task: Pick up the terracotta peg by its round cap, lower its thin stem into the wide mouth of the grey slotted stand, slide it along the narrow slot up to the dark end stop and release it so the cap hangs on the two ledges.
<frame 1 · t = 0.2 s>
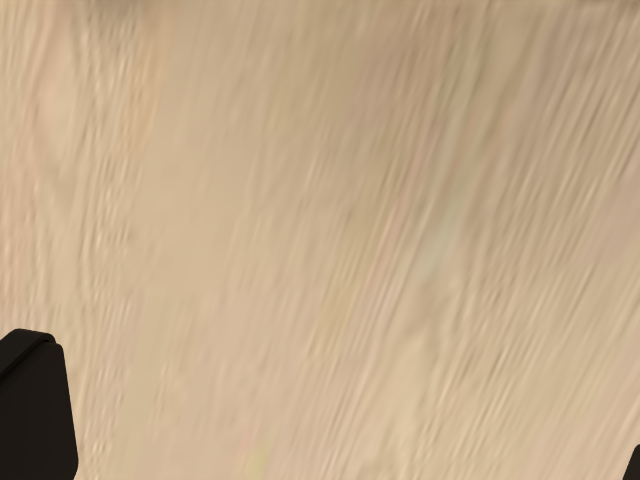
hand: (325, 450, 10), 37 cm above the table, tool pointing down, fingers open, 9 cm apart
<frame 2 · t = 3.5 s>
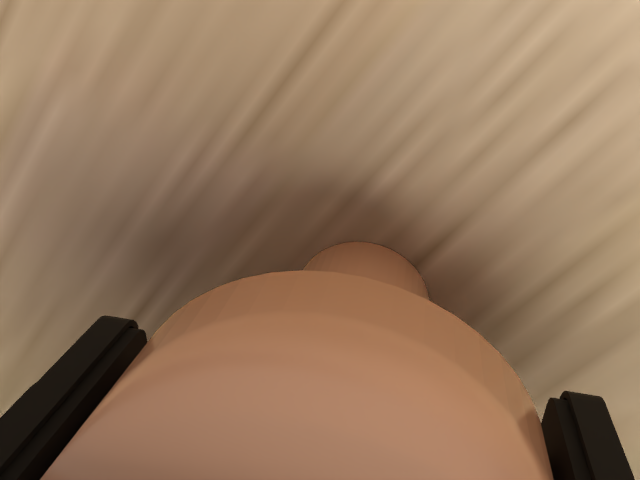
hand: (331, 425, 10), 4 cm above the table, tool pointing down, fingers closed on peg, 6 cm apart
peg: (360, 303, 14), on the table, touching gripper
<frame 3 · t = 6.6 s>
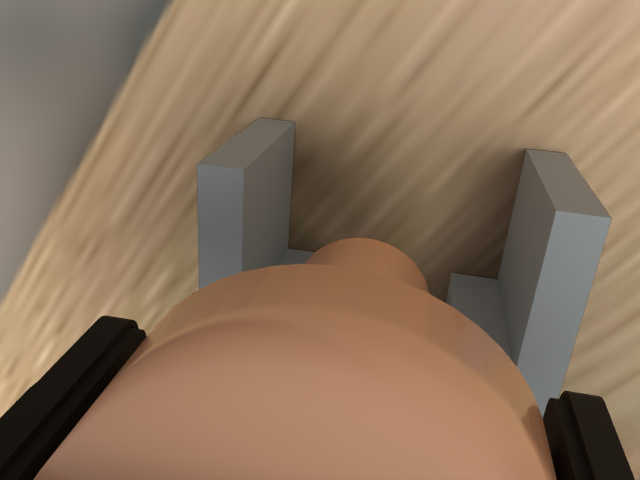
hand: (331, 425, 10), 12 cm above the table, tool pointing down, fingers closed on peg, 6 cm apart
grey slotted stand: (381, 330, 24), on the table
peg: (361, 299, 14), point 8 cm above the table, touching gripper
when the fingers open (8 cm above the table, at t = 10.1 s): peg drops 2 cm, resting on grey slotted stand.
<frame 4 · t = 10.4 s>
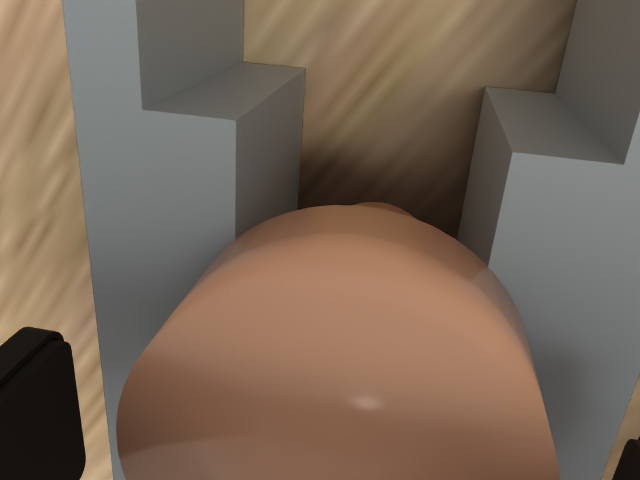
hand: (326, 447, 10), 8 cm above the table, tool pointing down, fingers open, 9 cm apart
grey slotted stand: (380, 187, 16), on the table
peg: (373, 256, 16), point 1 cm above the table, touching grey slotted stand
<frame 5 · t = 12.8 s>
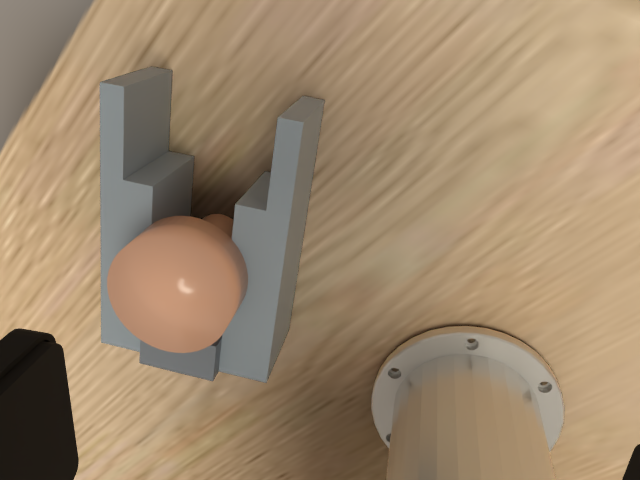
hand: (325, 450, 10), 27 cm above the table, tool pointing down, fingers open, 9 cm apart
grey slotted stand: (225, 207, 38), on the table
peg: (219, 237, 38), point 1 cm above the table, touching grey slotted stand
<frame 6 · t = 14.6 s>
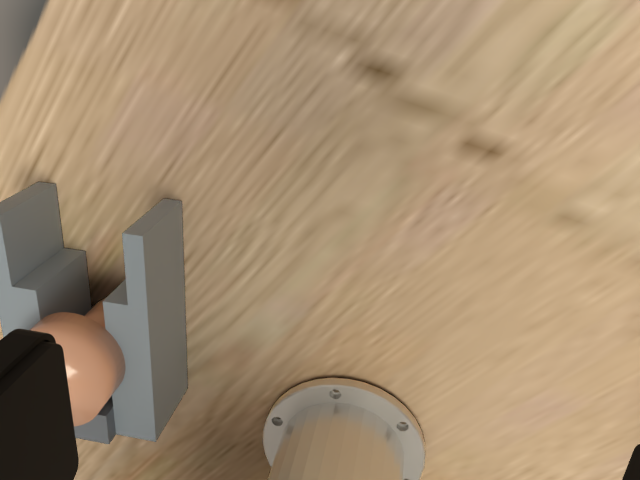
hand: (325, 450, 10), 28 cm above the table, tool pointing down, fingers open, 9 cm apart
grey slotted stand: (117, 291, 44), on the table
peg: (114, 316, 44), point 1 cm above the table, touching grey slotted stand
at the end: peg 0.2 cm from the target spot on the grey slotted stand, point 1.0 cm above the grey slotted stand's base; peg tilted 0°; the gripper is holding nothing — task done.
